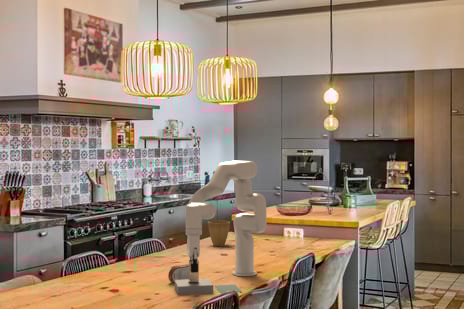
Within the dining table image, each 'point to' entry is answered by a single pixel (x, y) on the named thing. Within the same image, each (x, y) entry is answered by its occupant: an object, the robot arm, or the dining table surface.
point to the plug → (194, 275)
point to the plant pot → (218, 232)
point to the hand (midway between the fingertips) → (193, 270)
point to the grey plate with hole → (193, 286)
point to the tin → (179, 273)
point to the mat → (227, 288)
